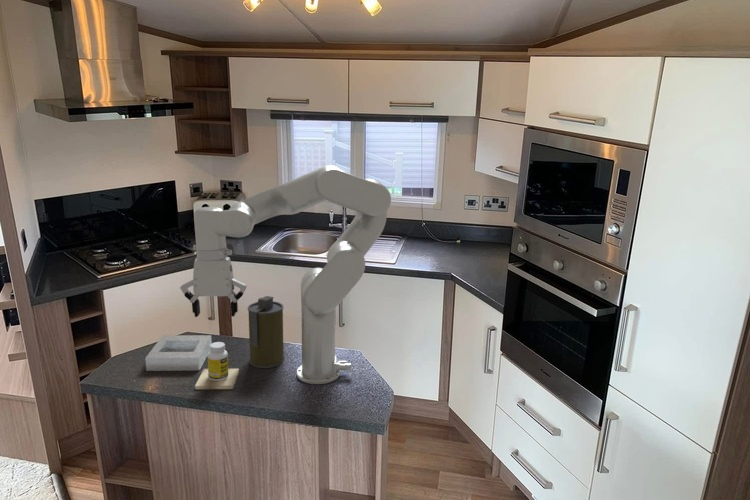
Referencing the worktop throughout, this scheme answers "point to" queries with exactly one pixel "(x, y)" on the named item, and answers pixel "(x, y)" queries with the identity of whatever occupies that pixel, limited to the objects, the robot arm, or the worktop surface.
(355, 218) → the robot arm
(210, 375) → the supplement bottle
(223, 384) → the oak board
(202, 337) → the socket block
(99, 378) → the worktop surface
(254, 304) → the canister
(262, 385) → the worktop surface
